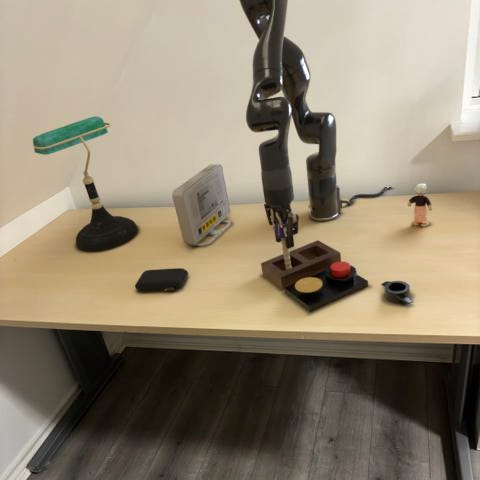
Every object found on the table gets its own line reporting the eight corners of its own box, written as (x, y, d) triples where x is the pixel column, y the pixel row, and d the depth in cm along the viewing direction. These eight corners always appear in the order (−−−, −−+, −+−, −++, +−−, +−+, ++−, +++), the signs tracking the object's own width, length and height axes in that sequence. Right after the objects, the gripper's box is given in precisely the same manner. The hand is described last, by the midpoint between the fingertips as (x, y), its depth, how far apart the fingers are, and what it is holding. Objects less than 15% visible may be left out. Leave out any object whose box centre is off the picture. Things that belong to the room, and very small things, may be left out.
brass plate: (312, 275, 131) (312, 274, 131) (328, 285, 126) (328, 284, 126) (289, 284, 129) (289, 284, 129) (304, 295, 124) (304, 294, 124)
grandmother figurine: (434, 222, 152) (436, 182, 145) (430, 227, 149) (432, 187, 142) (408, 220, 156) (409, 180, 149) (404, 225, 153) (405, 185, 146)
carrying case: (133, 296, 145) (181, 293, 141) (130, 287, 143) (178, 284, 140) (145, 277, 153) (190, 274, 150) (142, 268, 152) (188, 265, 148)
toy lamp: (277, 278, 139) (270, 224, 130) (284, 270, 143) (277, 216, 133) (293, 280, 137) (287, 225, 128) (299, 272, 140) (294, 217, 131)
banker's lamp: (120, 217, 198) (86, 112, 176) (154, 228, 183) (122, 115, 161) (61, 245, 184) (16, 135, 162) (93, 260, 170) (48, 140, 147)
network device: (217, 216, 183) (206, 162, 172) (238, 217, 179) (228, 162, 168) (180, 249, 165) (165, 191, 154) (202, 251, 161) (188, 192, 150)
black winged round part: (412, 286, 126) (413, 276, 124) (414, 308, 118) (414, 298, 116) (380, 286, 128) (380, 276, 126) (380, 308, 120) (380, 298, 119)
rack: (262, 275, 142) (260, 263, 140) (318, 252, 148) (317, 240, 146) (282, 290, 134) (280, 277, 132) (341, 265, 140) (340, 252, 138)
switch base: (339, 269, 138) (339, 258, 136) (368, 286, 129) (367, 274, 127) (284, 293, 133) (283, 281, 131) (310, 312, 124) (308, 300, 122)
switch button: (342, 266, 133) (342, 259, 132) (354, 273, 129) (354, 266, 128) (327, 272, 132) (326, 266, 131) (338, 279, 128) (338, 273, 127)
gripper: (305, 185, 120) (311, 248, 130) (275, 172, 131) (282, 231, 141) (279, 195, 118) (287, 258, 128) (250, 181, 129) (260, 240, 139)
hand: (284, 243), depth 134 cm, fingers closed on toy lamp, 4 cm apart
